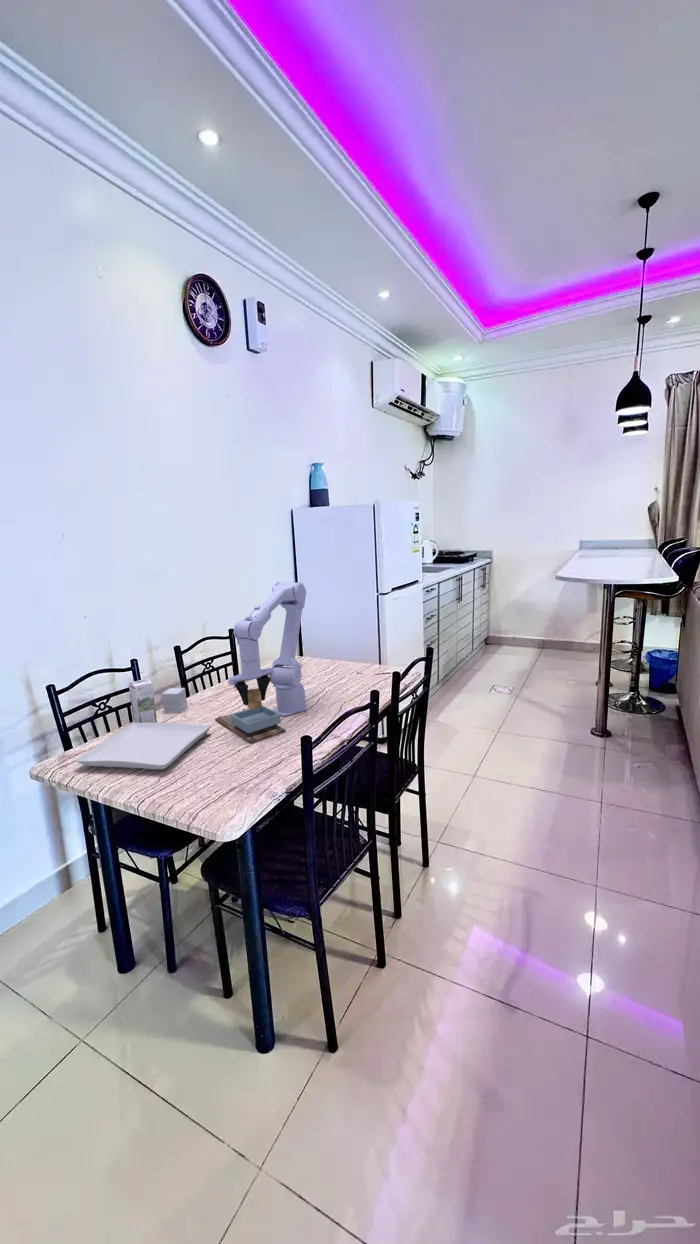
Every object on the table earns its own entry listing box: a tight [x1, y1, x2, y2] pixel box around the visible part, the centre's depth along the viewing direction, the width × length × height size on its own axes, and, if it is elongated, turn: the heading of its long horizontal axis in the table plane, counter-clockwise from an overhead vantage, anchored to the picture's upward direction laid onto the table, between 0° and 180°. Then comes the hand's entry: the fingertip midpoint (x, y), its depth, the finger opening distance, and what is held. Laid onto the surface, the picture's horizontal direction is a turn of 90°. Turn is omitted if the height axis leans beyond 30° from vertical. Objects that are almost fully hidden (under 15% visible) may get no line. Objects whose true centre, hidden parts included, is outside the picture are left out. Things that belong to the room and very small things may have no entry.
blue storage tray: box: [230, 704, 282, 735], centre depth 158 cm, size 11×11×4 cm
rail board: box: [214, 708, 287, 745], centre depth 162 cm, size 12×25×1 cm, turn 38°
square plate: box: [75, 722, 212, 770], centre depth 147 cm, size 27×27×4 cm
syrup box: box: [128, 678, 158, 723], centre depth 168 cm, size 6×6×14 cm
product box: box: [161, 687, 188, 714], centre depth 179 cm, size 6×6×7 cm
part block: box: [246, 688, 263, 710], centre depth 156 cm, size 4×4×5 cm
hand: (254, 702), depth 156 cm, fingers closed on part block, 5 cm apart
